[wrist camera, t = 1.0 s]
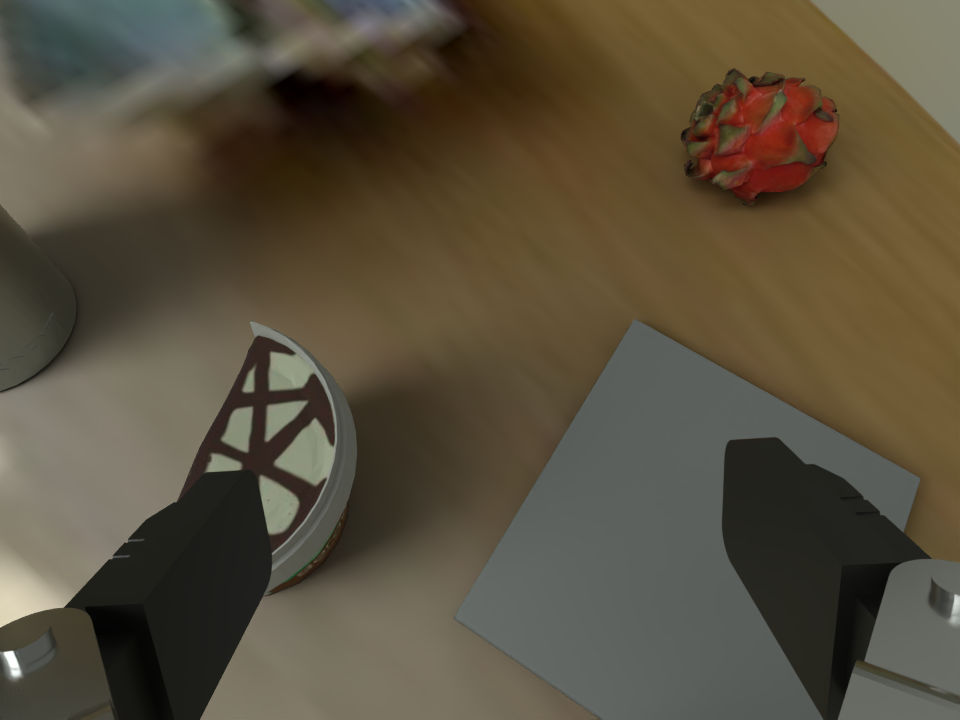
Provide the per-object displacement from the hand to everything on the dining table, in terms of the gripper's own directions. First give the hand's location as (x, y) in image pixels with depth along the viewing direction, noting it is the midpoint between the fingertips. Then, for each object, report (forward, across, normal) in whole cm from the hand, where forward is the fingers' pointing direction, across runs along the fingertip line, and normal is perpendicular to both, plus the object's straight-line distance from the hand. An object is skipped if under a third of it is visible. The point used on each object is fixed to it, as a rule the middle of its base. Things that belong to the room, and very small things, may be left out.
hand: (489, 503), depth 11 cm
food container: (+20, +10, +12) cm, 26 cm away
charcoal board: (+20, -10, +15) cm, 27 cm away
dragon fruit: (+39, -18, -3) cm, 43 cm away
